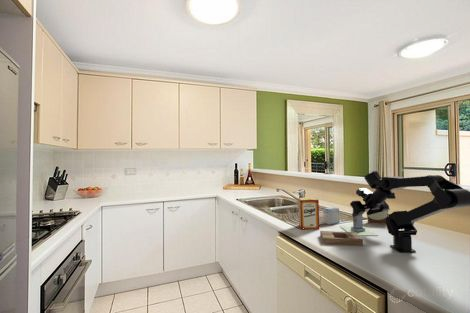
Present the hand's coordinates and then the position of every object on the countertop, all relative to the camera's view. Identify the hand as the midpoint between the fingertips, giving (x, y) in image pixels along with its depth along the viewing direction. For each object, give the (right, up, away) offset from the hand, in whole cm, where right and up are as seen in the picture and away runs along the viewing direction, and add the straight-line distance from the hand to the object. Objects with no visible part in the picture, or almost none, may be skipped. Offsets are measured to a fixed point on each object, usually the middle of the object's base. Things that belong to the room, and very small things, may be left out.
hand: (360, 215), depth 116 cm
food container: (+18, -8, +16) cm, 25 cm away
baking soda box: (-23, -9, +10) cm, 27 cm away
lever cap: (0, -8, +2) cm, 8 cm away
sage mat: (0, -9, +2) cm, 9 cm away
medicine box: (-7, -9, +17) cm, 21 cm away
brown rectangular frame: (-15, -9, -11) cm, 20 cm away
